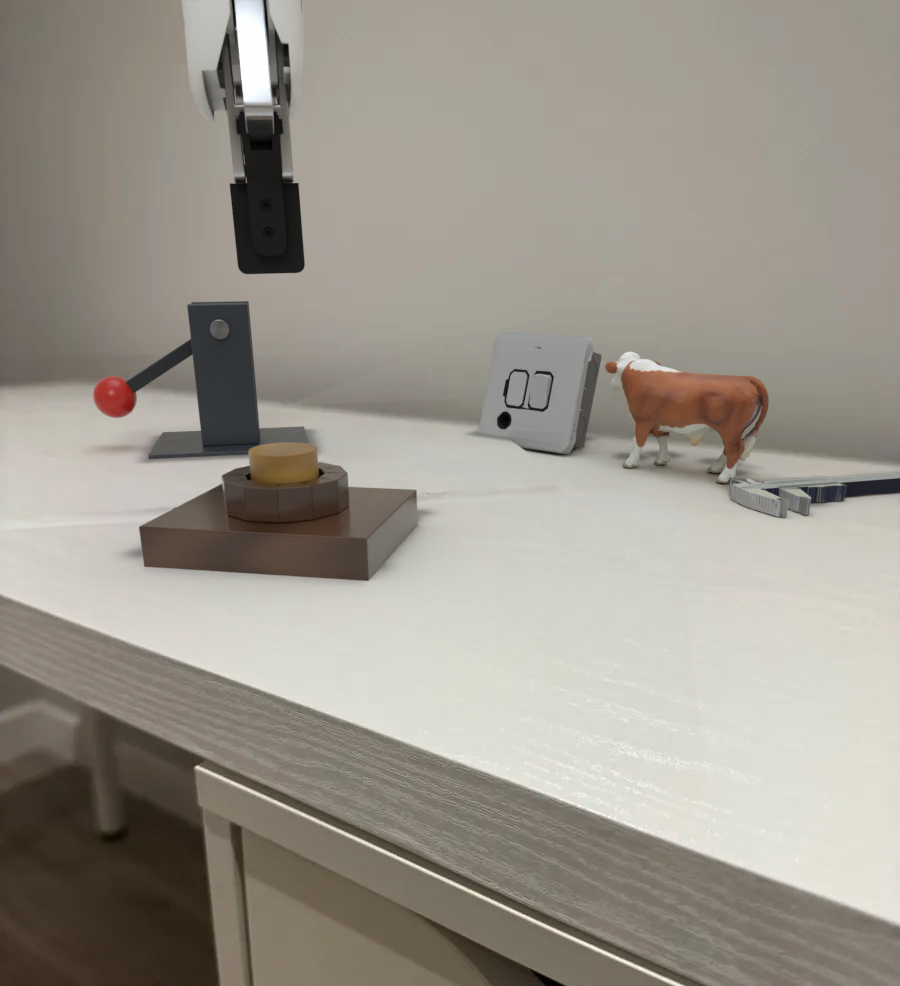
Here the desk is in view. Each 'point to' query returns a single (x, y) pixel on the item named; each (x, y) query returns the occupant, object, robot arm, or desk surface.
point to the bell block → (283, 527)
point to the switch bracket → (223, 388)
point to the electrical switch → (540, 390)
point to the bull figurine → (689, 409)
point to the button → (283, 462)
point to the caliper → (808, 491)
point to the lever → (134, 384)
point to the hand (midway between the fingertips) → (272, 272)
